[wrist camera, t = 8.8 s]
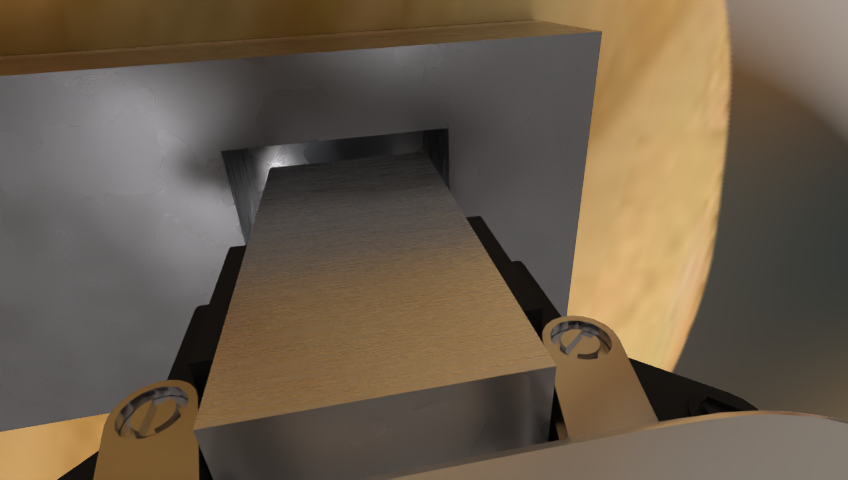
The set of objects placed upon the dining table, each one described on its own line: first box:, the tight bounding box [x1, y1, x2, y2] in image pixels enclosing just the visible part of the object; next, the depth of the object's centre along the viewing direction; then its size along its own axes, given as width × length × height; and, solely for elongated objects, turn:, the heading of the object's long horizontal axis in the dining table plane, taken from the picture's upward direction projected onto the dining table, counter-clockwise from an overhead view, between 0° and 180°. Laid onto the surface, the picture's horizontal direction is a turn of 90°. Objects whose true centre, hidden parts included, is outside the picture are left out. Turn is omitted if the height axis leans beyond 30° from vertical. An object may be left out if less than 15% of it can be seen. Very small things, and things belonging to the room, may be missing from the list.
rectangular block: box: [0, 20, 602, 432], centre depth 15 cm, size 10×24×4 cm, turn 92°
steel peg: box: [193, 151, 557, 480], centre depth 11 cm, size 4×4×9 cm
